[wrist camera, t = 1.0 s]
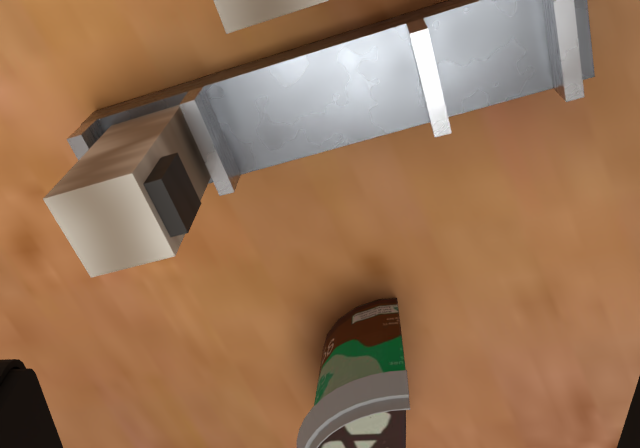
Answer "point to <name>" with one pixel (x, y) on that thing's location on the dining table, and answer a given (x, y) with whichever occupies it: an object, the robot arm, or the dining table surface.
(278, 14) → the block
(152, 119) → the block
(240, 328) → the dining table surface
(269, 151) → the rail
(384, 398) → the food container
